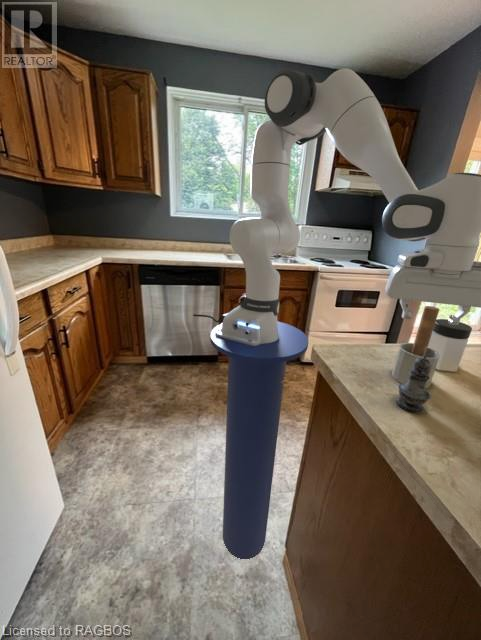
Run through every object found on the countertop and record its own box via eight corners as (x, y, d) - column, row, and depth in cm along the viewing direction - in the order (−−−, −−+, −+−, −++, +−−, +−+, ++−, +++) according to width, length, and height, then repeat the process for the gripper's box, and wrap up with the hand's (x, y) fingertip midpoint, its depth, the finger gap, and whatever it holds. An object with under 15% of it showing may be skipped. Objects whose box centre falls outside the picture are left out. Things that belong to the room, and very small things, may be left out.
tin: (395, 384, 65) (404, 354, 62) (389, 368, 72) (396, 340, 69) (434, 391, 62) (445, 361, 60) (423, 374, 70) (432, 346, 67)
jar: (448, 359, 79) (461, 320, 74) (465, 373, 71) (481, 331, 67) (415, 355, 80) (426, 317, 76) (429, 369, 72) (442, 327, 68)
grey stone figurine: (388, 401, 58) (402, 351, 54) (403, 393, 61) (417, 345, 57) (416, 418, 53) (434, 364, 49) (431, 408, 56) (449, 357, 52)
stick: (406, 378, 66) (426, 308, 60) (403, 373, 69) (423, 305, 62) (419, 381, 65) (441, 310, 59) (415, 375, 68) (437, 306, 62)
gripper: (498, 261, 57) (476, 322, 62) (391, 254, 63) (378, 311, 67) (516, 265, 51) (490, 332, 56) (397, 257, 57) (382, 319, 62)
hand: (428, 321), depth 62 cm, fingers open, 8 cm apart
